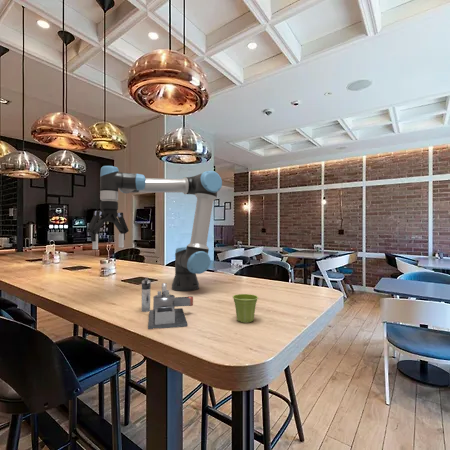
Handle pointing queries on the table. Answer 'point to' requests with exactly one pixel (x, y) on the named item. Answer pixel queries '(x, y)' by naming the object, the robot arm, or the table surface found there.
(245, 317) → the plant pot
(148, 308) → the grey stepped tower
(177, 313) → the base
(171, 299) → the grey machine part
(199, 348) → the table surface
